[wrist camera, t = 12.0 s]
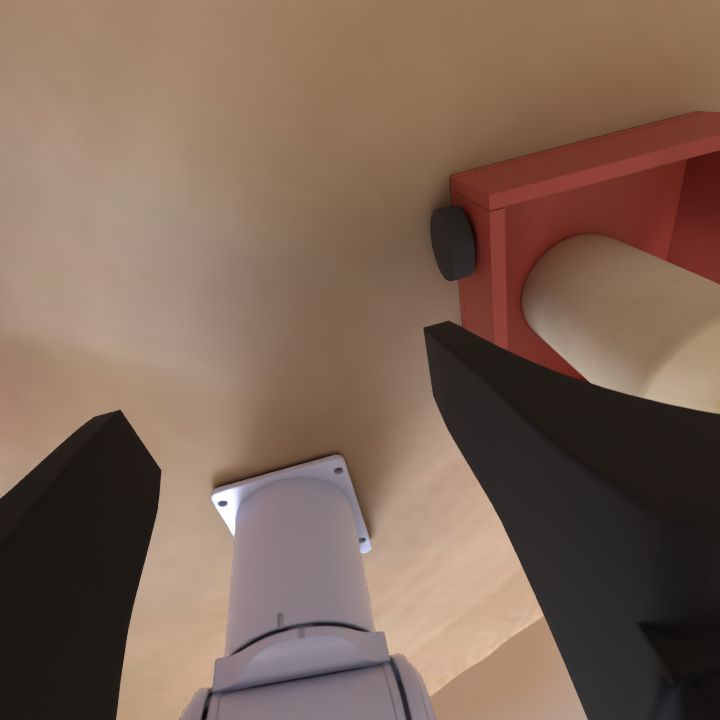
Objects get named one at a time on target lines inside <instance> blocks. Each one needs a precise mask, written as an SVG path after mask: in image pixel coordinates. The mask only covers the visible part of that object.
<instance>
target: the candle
mask: <svg viewBox="0 0 720 720" xmlns="http://www.w3.org/2000/svg"><path fill="white" fill-rule="evenodd" d="M521 305H522V311H523V315H524V317H525V319H526V321H527V322H528V324H529V325H530V327H531V328H532V329H533V330H534V331H535V332H536V333H537V334H538V335H539V336H540V337H541V338H542V339H543V340H544V341H545V342H546V343H548V344H549V345H550V346H551V347H552V348H553V349H554V350H555V351H556V352H557V353H558V354H559V355H561V356H562V357H563V358H564V359H565V360H566V361H567V362H568V363H569V364H570V365H571V366H573V367H574V368H575V369H576V370H577V371H578V372H579V373H580V374H581V375H582V376H583V377H585V378H586V379H587V380H588V381H589V382H590V383H592V384H595V385H598V386H601V387H604V388H607V389H611V390H614V391H618V392H622V393H625V394H629V395H633V396H637V397H641V398H645V399H650V400H654V401H658V402H662V403H666V404H670V405H675V406H680V407H685V408H690V409H695V410H700V411H706V412H711V413H717V414H720V284H718V283H715V282H713V281H711V280H708V279H706V278H704V277H702V276H699V275H697V274H695V273H692V272H690V271H688V270H685V269H683V268H681V267H679V266H676V265H674V264H672V263H669V262H667V261H665V260H662V259H660V258H658V257H656V256H653V255H651V254H649V253H646V252H644V251H642V250H639V249H637V248H635V247H632V246H630V245H628V244H626V243H623V242H621V241H618V240H616V239H613V238H611V237H608V236H605V235H600V234H590V233H589V234H580V235H576V236H573V237H570V238H567V239H565V240H563V241H561V242H560V243H558V244H556V245H555V246H553V247H552V248H551V249H550V250H548V251H547V252H546V253H545V254H544V255H543V256H542V257H541V258H540V259H539V260H538V261H537V263H536V264H535V265H534V267H533V268H532V270H531V271H530V273H529V275H528V277H527V279H526V281H525V284H524V287H523V291H522V298H521Z"/></svg>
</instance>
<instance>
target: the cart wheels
mask: <svg viewBox="0 0 720 720" xmlns="http://www.w3.org/2000/svg"><path fill="white" fill-rule="evenodd" d="M431 240H432V246H433V251H434V255H435V258H436V261H437V264H438V267H439V269H440V271H441V273H442V275H443V276H444V278H445V279H446V280H448V281H453V280H457V279H461V278H464V277H468V276H470V275H471V274H472V273H473V271H474V267H475V245H474V239H473V234H472V230H471V227H470V224H469V221H468V219H467V217H466V215H465V213H464V212H463V210H462V209H461V208H460V207H459V206H456V205H454V206H450V207H446V208H442V209H439V210H435V211H434V212H433V214H432V217H431Z"/></svg>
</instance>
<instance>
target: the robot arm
mask: <svg viewBox="0 0 720 720" xmlns="http://www.w3.org/2000/svg"><path fill="white" fill-rule="evenodd" d="M424 335H425V342H426V349H427V356H428V363H429V370H430V377H431V384H432V391H433V396H434V398H435V401H436V403H437V406H438V408H439V410H440V413H441V415H442V417H443V420H444V422H445V424H446V426H447V429H448V431H449V432H450V434H451V436H452V437H453V439H454V441H455V443H456V444H457V446H458V448H459V449H460V451H461V453H462V455H463V456H464V458H465V460H466V461H467V463H468V465H469V466H470V468H471V470H472V471H473V473H474V475H475V476H476V478H477V480H478V481H479V483H480V485H481V486H482V488H483V490H484V491H485V493H486V495H487V497H488V498H489V500H490V502H491V503H492V505H493V507H494V509H495V511H496V512H497V514H498V516H499V518H500V520H501V522H502V524H503V526H504V528H505V530H506V532H507V535H508V537H509V539H510V541H511V543H512V545H513V547H514V550H515V552H516V554H517V556H518V558H519V560H520V562H521V565H522V567H523V569H524V571H525V574H526V576H527V578H528V580H529V583H530V585H531V587H532V589H533V591H534V594H535V596H536V598H537V600H538V603H539V605H540V607H541V609H542V612H543V614H544V616H545V619H546V621H547V623H548V626H549V628H550V630H551V632H552V635H553V637H554V639H555V642H556V644H557V646H558V649H559V651H560V653H561V656H562V658H563V660H564V662H565V665H566V668H567V670H568V672H569V675H570V677H571V680H572V682H573V685H574V687H575V689H576V692H577V694H578V697H579V699H580V701H581V704H582V706H583V709H584V711H585V714H586V716H587V718H588V720H720V414H717V413H711V412H706V411H700V410H695V409H690V408H685V407H680V406H675V405H670V404H666V403H662V402H658V401H654V400H650V399H645V398H641V397H637V396H633V395H629V394H625V393H622V392H618V391H614V390H611V389H607V388H604V387H601V386H598V385H595V384H592V383H589V382H585V381H582V380H579V379H576V378H573V377H570V376H567V375H565V374H562V373H559V372H557V371H554V370H552V369H549V368H547V367H544V366H542V365H539V364H537V363H534V362H532V361H530V360H527V359H525V358H523V357H521V356H518V355H516V354H514V353H512V352H510V351H508V350H505V349H503V348H501V347H499V346H497V345H495V344H493V343H491V342H489V341H487V340H485V339H483V338H481V337H479V336H478V335H476V334H474V333H472V332H470V331H468V330H466V329H464V328H462V327H460V326H458V325H456V324H454V323H452V322H450V321H446V322H442V323H439V324H435V325H431V326H428V327H424ZM336 468H340V469H336ZM160 481H161V469H160V468H159V466H158V465H157V463H156V462H155V460H154V459H153V457H152V456H151V454H150V453H149V451H148V450H147V449H146V447H145V446H144V444H143V443H142V441H141V440H140V438H139V437H138V435H137V434H136V432H135V431H134V429H133V428H132V426H131V425H130V423H129V422H128V420H127V419H126V417H125V416H124V414H123V413H122V411H121V410H118V411H114V412H110V413H107V414H103V415H99V416H96V417H93V418H92V419H91V420H89V421H88V422H87V423H85V424H84V425H83V426H81V427H80V428H79V429H78V430H77V431H75V432H74V433H73V434H72V435H71V436H70V437H68V438H67V439H66V440H65V441H64V442H63V443H62V444H61V445H59V446H58V447H57V448H56V449H55V450H54V451H53V452H52V453H51V454H50V455H48V456H47V457H46V458H45V459H44V460H43V461H42V462H41V463H40V464H39V465H37V466H36V467H35V468H34V469H33V470H32V471H31V472H30V473H29V474H28V475H26V476H25V477H24V478H23V479H22V480H21V481H20V482H19V483H18V484H17V485H16V486H14V487H13V488H12V489H11V490H10V491H9V492H8V493H6V494H5V495H4V496H3V497H2V498H1V499H0V720H116V715H117V706H118V698H119V689H120V681H121V674H122V667H123V660H124V654H125V647H126V640H127V634H128V628H129V623H130V619H131V614H132V609H133V605H134V601H135V597H136V593H137V589H138V586H139V582H140V578H141V574H142V570H143V566H144V562H145V559H146V555H147V551H148V547H149V543H150V539H151V535H152V531H153V527H154V523H155V519H156V514H157V510H158V502H159V493H160ZM211 500H212V502H213V503H214V505H215V507H216V508H217V510H218V512H219V513H220V515H221V516H222V518H223V520H224V521H225V523H226V525H227V526H228V528H229V530H230V531H231V533H232V534H233V536H234V546H233V558H232V570H231V582H230V594H229V606H228V619H227V631H226V643H225V655H224V657H223V658H218V659H216V660H215V668H214V678H213V687H207V688H201V689H199V690H198V691H197V692H196V693H195V694H194V696H193V698H192V700H191V702H190V703H189V704H188V706H187V707H186V708H185V710H184V711H183V713H182V714H181V716H180V719H179V720H435V716H434V712H433V708H432V705H431V701H430V698H429V695H428V692H427V689H426V686H425V684H424V681H423V679H422V677H421V675H420V673H419V672H418V670H417V669H416V668H415V667H414V666H413V665H412V664H411V663H409V661H408V660H407V659H406V657H405V656H404V655H402V654H395V655H390V656H389V653H388V648H387V643H386V638H385V633H384V632H382V631H381V632H376V629H375V624H374V619H373V614H372V609H371V603H370V598H369V593H368V588H367V583H366V578H365V572H364V567H363V562H362V557H361V554H362V553H366V552H368V551H370V550H371V548H372V544H371V541H370V538H369V534H368V531H367V528H366V525H365V522H364V519H363V516H362V513H361V510H360V507H359V504H358V500H357V497H356V494H355V491H354V488H353V485H352V482H351V479H350V476H349V473H348V470H347V467H346V463H345V460H344V458H343V457H342V456H341V455H332V456H329V457H325V458H322V459H318V460H314V461H311V462H307V463H304V464H300V465H297V466H293V467H289V468H286V469H282V470H279V471H275V472H271V473H268V474H264V475H261V476H257V477H254V478H250V479H246V480H243V481H239V482H236V483H232V484H229V485H225V486H221V487H218V488H215V489H213V490H212V492H211ZM222 500H224V501H222Z"/></svg>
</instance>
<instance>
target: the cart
mask: <svg viewBox="0 0 720 720" xmlns="http://www.w3.org/2000/svg"><path fill="white" fill-rule="evenodd" d="M450 183H451V195H452V206H454V205H456V206H459V207H460V208H461V209H462V210H463V212H464V213H465V215H466V217H467V219H468V221H469V224H470V227H471V230H472V234H473V239H474V245H475V267H474V271H473V273H472V274H471V275H470V276H468V277H464V278H461V279H459V289H460V301H461V313H462V325H463V328H464V329H466V330H468V331H470V332H472V333H474V334H476V335H478V336H479V337H481V338H483V339H485V340H487V341H489V342H491V343H493V344H495V345H497V346H499V347H501V348H503V349H505V350H508V351H510V352H512V353H514V354H516V355H518V356H521V357H523V358H525V359H527V360H530V361H532V362H534V363H537V364H539V365H542V366H544V367H547V368H549V369H552V370H554V371H557V372H559V373H562V374H565V375H567V376H570V377H573V378H576V379H579V380H582V381H585V382H589V381H588V380H587V379H586V378H585V377H583V376H582V375H581V374H580V373H579V372H578V371H577V370H576V369H575V368H574V367H573V366H571V365H570V364H569V363H568V362H567V361H566V360H565V359H564V358H563V357H562V356H561V355H559V354H558V353H557V352H556V351H555V350H554V349H553V348H552V347H551V346H550V345H549V344H548V343H546V342H545V341H544V340H543V339H542V338H541V337H540V336H539V335H538V334H537V333H536V332H535V331H534V330H533V329H532V328H531V327H530V325H529V324H528V322H527V321H526V319H525V317H524V315H523V311H522V305H521V298H522V291H523V287H524V284H525V281H526V279H527V277H528V275H529V273H530V271H531V270H532V268H533V267H534V265H535V264H536V263H537V261H538V260H539V259H540V258H541V257H542V256H543V255H544V254H545V253H546V252H547V251H548V250H550V249H551V248H552V247H553V246H555V245H556V244H558V243H560V242H561V241H563V240H565V239H567V238H570V237H573V236H576V235H580V234H589V233H590V234H600V235H605V236H608V237H611V238H613V239H616V240H618V241H621V242H623V243H626V244H628V245H630V246H632V247H635V248H637V249H639V250H642V251H644V252H646V253H649V254H651V255H653V256H656V257H658V258H660V259H662V260H665V261H667V262H669V263H672V264H674V265H676V266H679V267H681V268H683V269H685V270H688V271H690V272H692V273H695V274H697V275H699V276H702V277H704V278H706V279H708V280H711V281H713V282H715V283H718V284H720V112H702V111H697V112H693V113H689V114H685V115H681V116H677V117H673V118H670V119H666V120H662V121H658V122H654V123H650V124H646V125H643V126H639V127H635V128H631V129H627V130H623V131H619V132H616V133H612V134H608V135H604V136H600V137H596V138H593V139H589V140H585V141H581V142H577V143H573V144H569V145H566V146H562V147H558V148H554V149H550V150H546V151H542V152H539V153H535V154H531V155H527V156H523V157H519V158H515V159H512V160H508V161H504V162H500V163H496V164H492V165H489V166H485V167H481V168H477V169H473V170H469V171H465V172H462V173H458V174H454V175H451V176H450ZM589 383H590V382H589Z"/></svg>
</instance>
